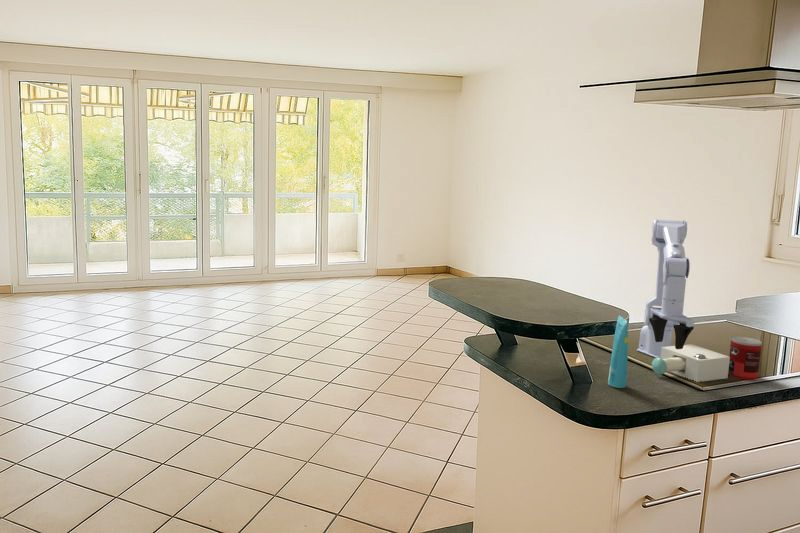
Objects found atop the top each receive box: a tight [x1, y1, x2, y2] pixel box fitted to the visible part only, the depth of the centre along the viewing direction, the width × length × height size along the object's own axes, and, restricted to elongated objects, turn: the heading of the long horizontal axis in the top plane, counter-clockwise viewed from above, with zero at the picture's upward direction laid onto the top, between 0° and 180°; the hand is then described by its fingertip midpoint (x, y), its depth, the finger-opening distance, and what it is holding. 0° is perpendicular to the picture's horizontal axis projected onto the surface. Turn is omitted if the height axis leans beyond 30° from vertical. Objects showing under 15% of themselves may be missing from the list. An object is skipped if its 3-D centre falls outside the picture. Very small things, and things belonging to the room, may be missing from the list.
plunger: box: [696, 354, 705, 359], centre depth 178 cm, size 2×2×4 cm
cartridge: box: [651, 357, 686, 376], centre depth 182 cm, size 5×17×5 cm, turn 112°
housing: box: [660, 343, 730, 383], centre depth 184 cm, size 14×12×6 cm
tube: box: [607, 314, 629, 389], centre depth 170 cm, size 7×5×19 cm, turn 3°
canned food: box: [728, 336, 763, 381], centre depth 182 cm, size 8×8×11 cm
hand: (668, 345), depth 179 cm, fingers open, 7 cm apart
